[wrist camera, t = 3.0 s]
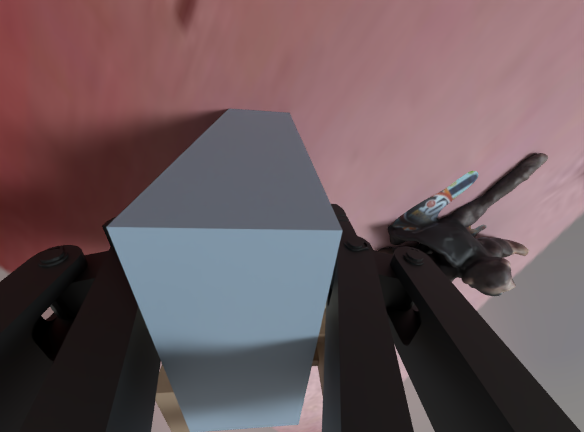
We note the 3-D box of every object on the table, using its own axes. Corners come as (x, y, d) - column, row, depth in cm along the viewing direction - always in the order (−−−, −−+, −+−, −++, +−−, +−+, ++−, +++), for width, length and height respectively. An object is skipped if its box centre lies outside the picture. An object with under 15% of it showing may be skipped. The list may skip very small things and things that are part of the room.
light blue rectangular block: (227, 108, 14) (98, 226, 3) (291, 112, 14) (348, 230, 4) (234, 224, 18) (186, 432, 8) (283, 225, 18) (301, 424, 8)
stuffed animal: (365, 305, 23) (451, 292, 12) (352, 213, 27) (407, 139, 16) (479, 302, 24) (656, 288, 13) (450, 213, 28) (566, 144, 17)
